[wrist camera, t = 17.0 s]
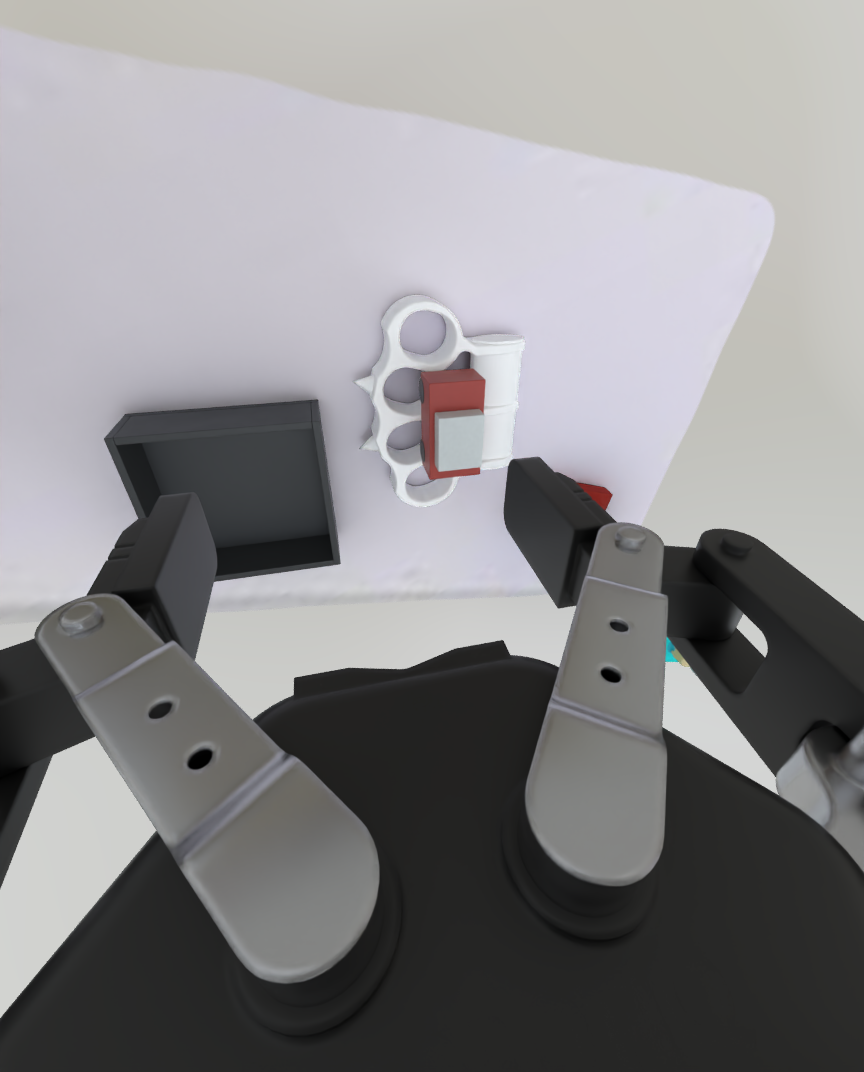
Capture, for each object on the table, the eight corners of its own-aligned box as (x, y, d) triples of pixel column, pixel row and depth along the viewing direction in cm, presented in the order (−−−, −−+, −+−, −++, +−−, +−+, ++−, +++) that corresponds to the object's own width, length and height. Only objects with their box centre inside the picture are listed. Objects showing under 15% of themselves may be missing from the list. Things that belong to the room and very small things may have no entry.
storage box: (180, 554, 45) (168, 588, 41) (125, 414, 37) (103, 438, 33) (337, 534, 48) (340, 564, 44) (318, 399, 40) (319, 420, 36)
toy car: (468, 455, 42) (485, 482, 38) (420, 460, 42) (432, 488, 38) (472, 366, 38) (492, 385, 34) (418, 369, 37) (432, 389, 33)
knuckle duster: (501, 481, 49) (362, 497, 46) (519, 290, 39) (342, 296, 36) (513, 497, 46) (366, 515, 44) (536, 296, 36) (346, 303, 33)
